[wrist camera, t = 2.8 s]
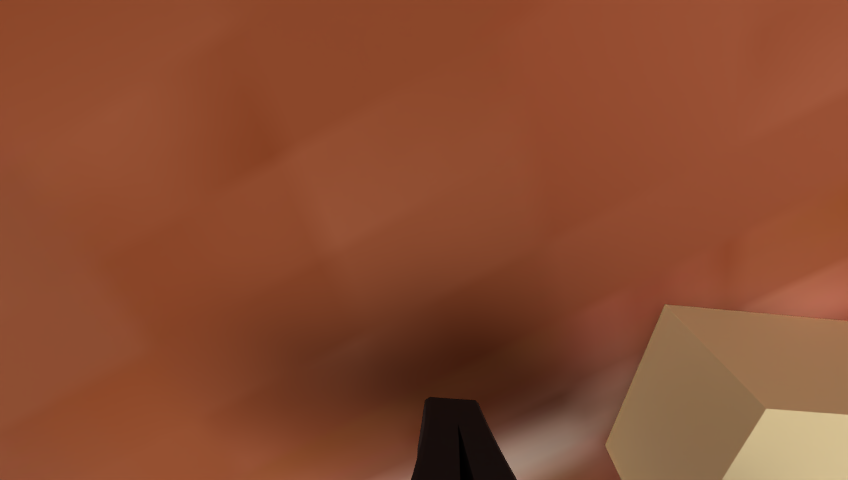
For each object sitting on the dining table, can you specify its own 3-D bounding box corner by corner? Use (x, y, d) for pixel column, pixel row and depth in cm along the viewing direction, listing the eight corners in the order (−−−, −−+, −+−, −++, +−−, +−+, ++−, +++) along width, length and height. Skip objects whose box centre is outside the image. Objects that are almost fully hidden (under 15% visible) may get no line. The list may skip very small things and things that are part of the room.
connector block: (835, 459, 15) (965, 586, 12) (603, 444, 15) (663, 571, 11) (939, 326, 13) (1144, 435, 9) (663, 301, 12) (767, 407, 9)
